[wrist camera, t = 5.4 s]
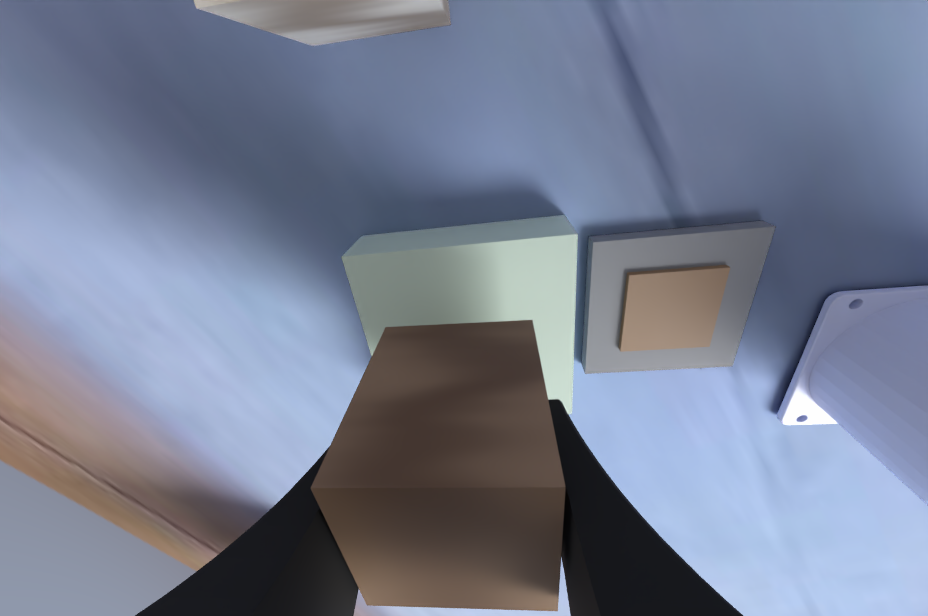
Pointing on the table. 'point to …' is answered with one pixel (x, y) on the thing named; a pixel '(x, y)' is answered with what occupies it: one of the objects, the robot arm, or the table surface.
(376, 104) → the table surface
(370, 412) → the walnut block
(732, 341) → the tile
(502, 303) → the green block
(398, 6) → the ash block
